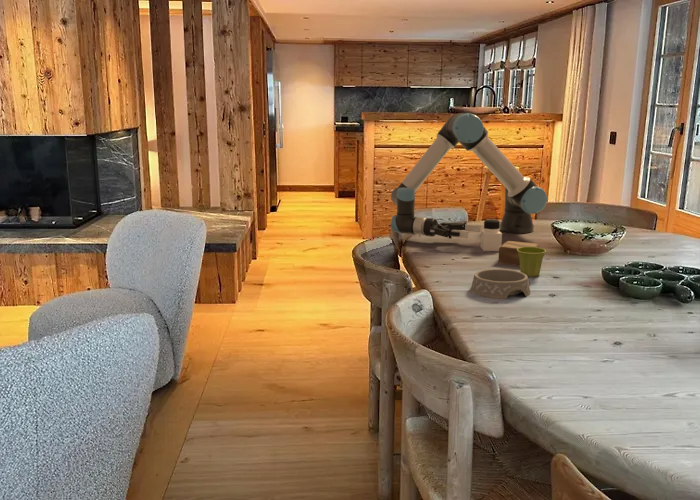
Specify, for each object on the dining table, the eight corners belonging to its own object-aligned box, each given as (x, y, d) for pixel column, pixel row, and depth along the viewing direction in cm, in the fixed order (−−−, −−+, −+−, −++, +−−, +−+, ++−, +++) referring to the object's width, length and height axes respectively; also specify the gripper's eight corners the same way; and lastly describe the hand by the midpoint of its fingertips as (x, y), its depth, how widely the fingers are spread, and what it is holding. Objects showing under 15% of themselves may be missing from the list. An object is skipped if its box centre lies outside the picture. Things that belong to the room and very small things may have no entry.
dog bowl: (460, 287, 198) (460, 271, 197) (509, 281, 204) (509, 265, 203) (490, 302, 182) (490, 285, 181) (542, 295, 188) (543, 278, 187)
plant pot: (545, 279, 205) (547, 253, 203) (516, 277, 207) (517, 252, 205) (543, 271, 214) (544, 247, 212) (514, 270, 216) (516, 246, 214)
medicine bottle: (501, 251, 244) (503, 221, 242) (483, 251, 245) (484, 221, 242) (497, 247, 251) (499, 218, 249) (480, 247, 252) (481, 218, 249)
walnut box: (506, 256, 237) (507, 240, 236) (538, 260, 232) (539, 243, 230) (498, 263, 227) (499, 246, 225) (531, 267, 221) (532, 250, 220)
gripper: (438, 230, 272) (484, 235, 261) (412, 241, 251) (462, 246, 240) (438, 213, 270) (485, 217, 259) (413, 222, 250) (462, 227, 239)
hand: (474, 231), depth 250 cm, fingers open, 13 cm apart
